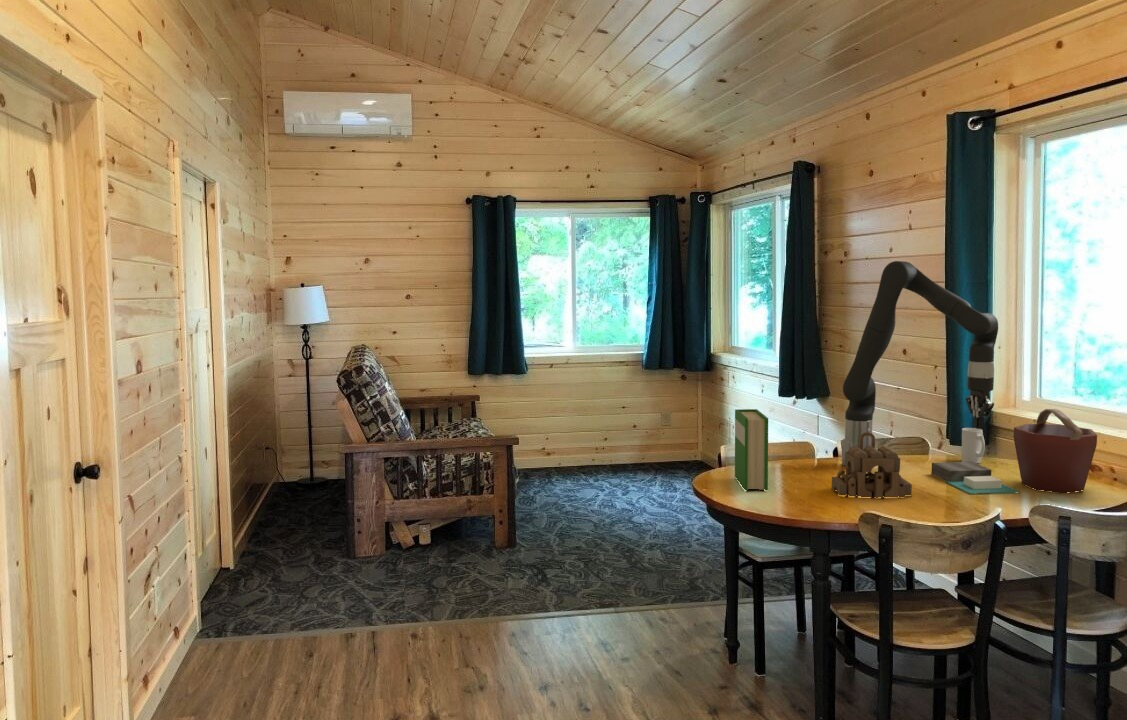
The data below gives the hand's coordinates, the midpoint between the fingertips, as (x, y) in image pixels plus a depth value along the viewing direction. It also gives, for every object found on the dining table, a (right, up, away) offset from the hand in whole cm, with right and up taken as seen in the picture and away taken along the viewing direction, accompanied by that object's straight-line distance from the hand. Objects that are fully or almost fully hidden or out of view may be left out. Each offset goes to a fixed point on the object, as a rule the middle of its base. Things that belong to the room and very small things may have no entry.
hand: (978, 428), depth 259 cm
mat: (+1, -19, -1) cm, 19 cm away
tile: (+1, -17, -1) cm, 17 cm away
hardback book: (-72, -20, +8) cm, 75 cm away
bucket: (+23, -19, -1) cm, 30 cm away
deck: (0, -18, +12) cm, 21 cm away
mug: (+15, -16, +32) cm, 39 cm away
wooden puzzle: (-37, -20, -4) cm, 42 cm away
